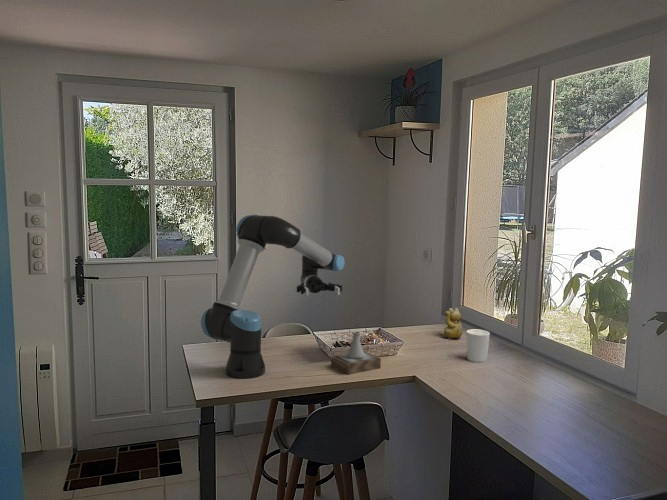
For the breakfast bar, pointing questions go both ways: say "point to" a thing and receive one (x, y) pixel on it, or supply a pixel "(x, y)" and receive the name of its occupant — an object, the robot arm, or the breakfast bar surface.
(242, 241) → the robot arm
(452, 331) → the decorative figurine
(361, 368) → the walnut stand
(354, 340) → the flask
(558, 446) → the breakfast bar surface
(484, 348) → the candle holder
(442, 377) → the breakfast bar surface
